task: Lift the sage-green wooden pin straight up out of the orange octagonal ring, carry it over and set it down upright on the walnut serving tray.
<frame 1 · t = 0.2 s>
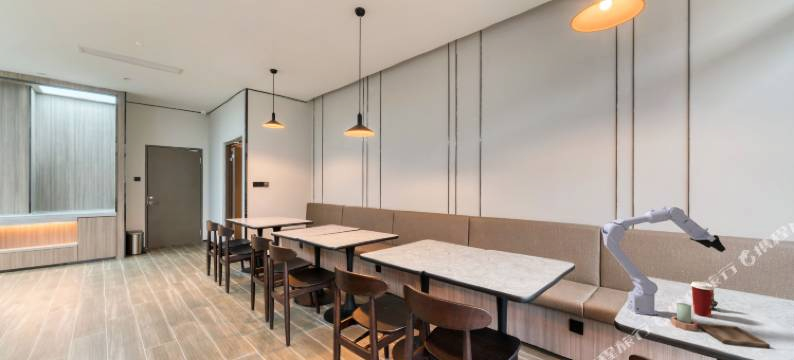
hand: (716, 248, 136), 31 cm above the table, tool tilted 45°, fingers open, 7 cm apart
orange octagonal ring: (683, 326, 129), on the table
green pin: (684, 315, 129), in the orange octagonal ring
salt shaker: (709, 309, 146), on the table
serving tray: (730, 336, 120), on the table
paper cup: (702, 314, 140), on the table
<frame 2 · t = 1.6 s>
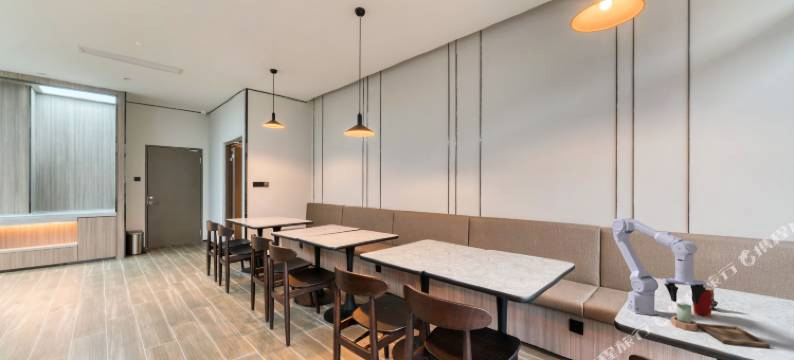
hand: (684, 301, 129), 10 cm above the table, tool pointing down, fingers open, 7 cm apart
nothing on the table moved.
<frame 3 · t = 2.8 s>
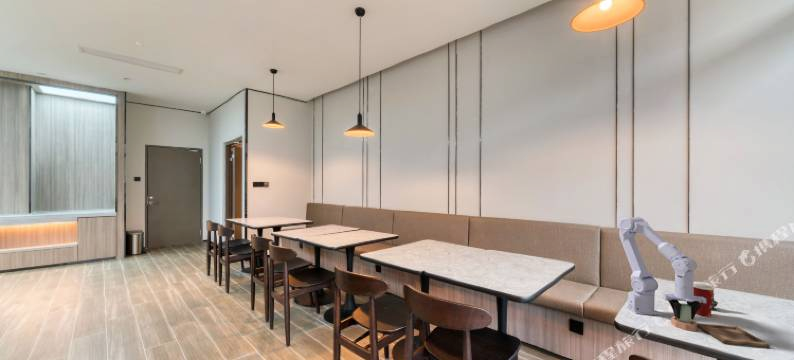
hand: (684, 318, 129), 3 cm above the table, tool pointing down, fingers closed on green pin, 4 cm apart
green pin: (684, 315, 129), in the orange octagonal ring, touching gripper
everything else where it was.
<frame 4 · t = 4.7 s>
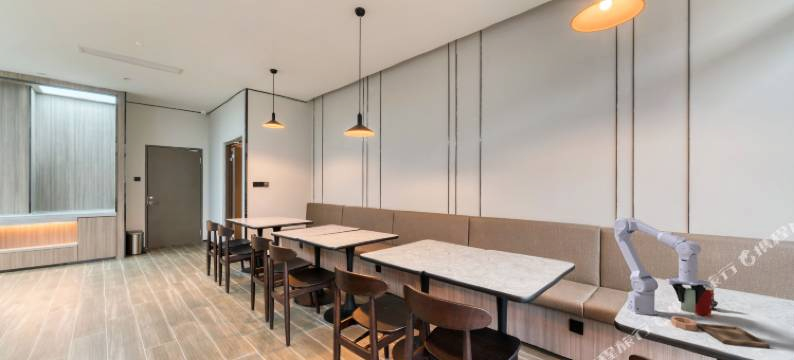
hand: (688, 302, 128), 10 cm above the table, tool pointing down, fingers closed on green pin, 4 cm apart
green pin: (688, 299, 128), point 12 cm above the table, touching gripper
everything else where it was.
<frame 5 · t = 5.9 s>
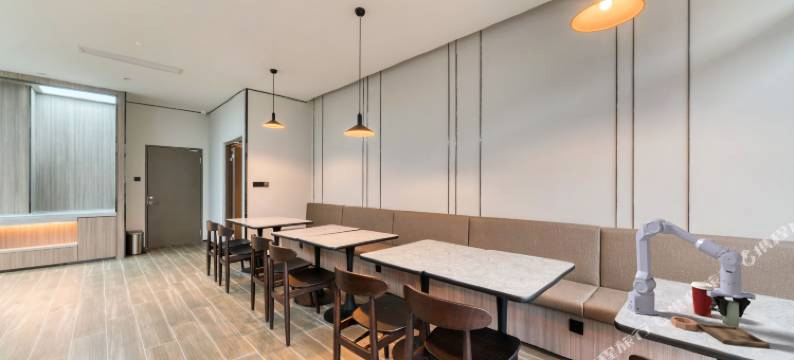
hand: (730, 315, 120), 8 cm above the table, tool pointing down, fingers closed on green pin, 4 cm apart
green pin: (730, 312, 120), point 9 cm above the table, touching gripper
everything else where it was.
when the fingers open (5 cm above the table, at t = 6.8 s): green pin drops 1 cm, resting on serving tray.
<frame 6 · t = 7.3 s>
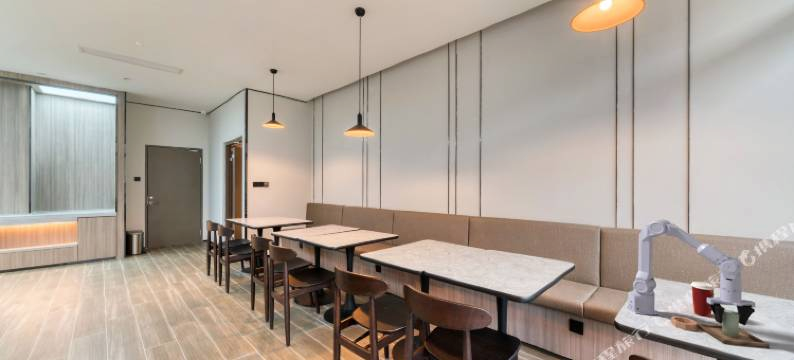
hand: (730, 323, 120), 5 cm above the table, tool pointing down, fingers open, 7 cm apart
green pin: (730, 323, 120), resting on serving tray
everything else where it was.
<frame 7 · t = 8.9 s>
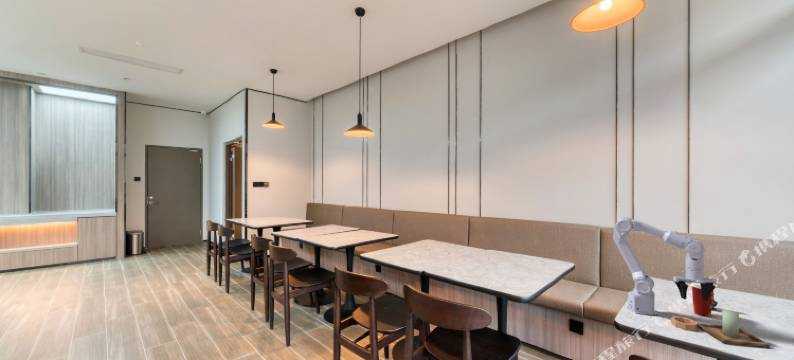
hand: (694, 299, 131), 10 cm above the table, tool pointing down, fingers open, 7 cm apart
nothing on the table moved.
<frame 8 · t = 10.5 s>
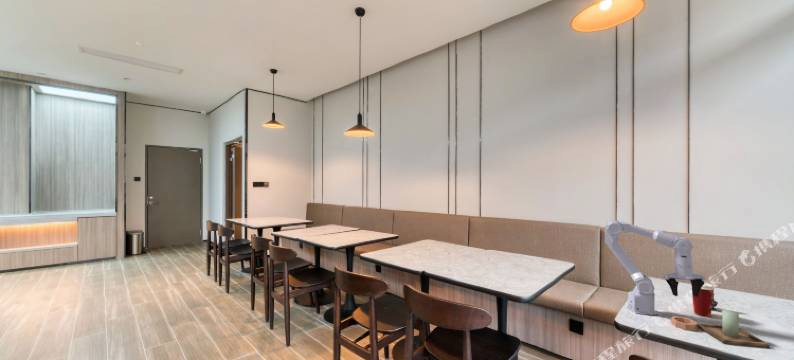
hand: (685, 295, 135), 10 cm above the table, tool pointing down, fingers open, 7 cm apart
nothing on the table moved.
at the end: green pin inside the target area on the serving tray (0.0 cm from its centre), point 5.0 cm above the serving tray's base; green pin tilted 0°; the gripper is holding nothing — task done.
